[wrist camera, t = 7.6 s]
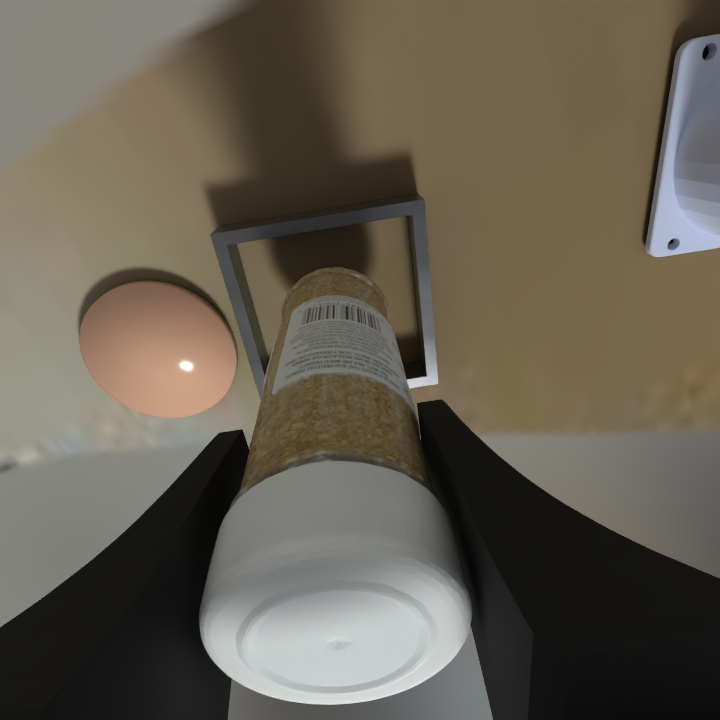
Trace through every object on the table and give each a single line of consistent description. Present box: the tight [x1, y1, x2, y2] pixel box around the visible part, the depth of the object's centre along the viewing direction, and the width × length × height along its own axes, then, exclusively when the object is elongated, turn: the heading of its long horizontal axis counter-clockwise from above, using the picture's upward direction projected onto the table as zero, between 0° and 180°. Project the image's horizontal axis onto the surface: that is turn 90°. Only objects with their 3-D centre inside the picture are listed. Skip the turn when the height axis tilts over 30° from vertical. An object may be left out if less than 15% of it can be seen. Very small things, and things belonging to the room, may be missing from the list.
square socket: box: [210, 194, 438, 399], centre depth 20 cm, size 8×8×2 cm
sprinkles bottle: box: [199, 267, 472, 705], centre depth 13 cm, size 5×5×14 cm
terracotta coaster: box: [79, 280, 238, 418], centre depth 21 cm, size 7×7×1 cm
